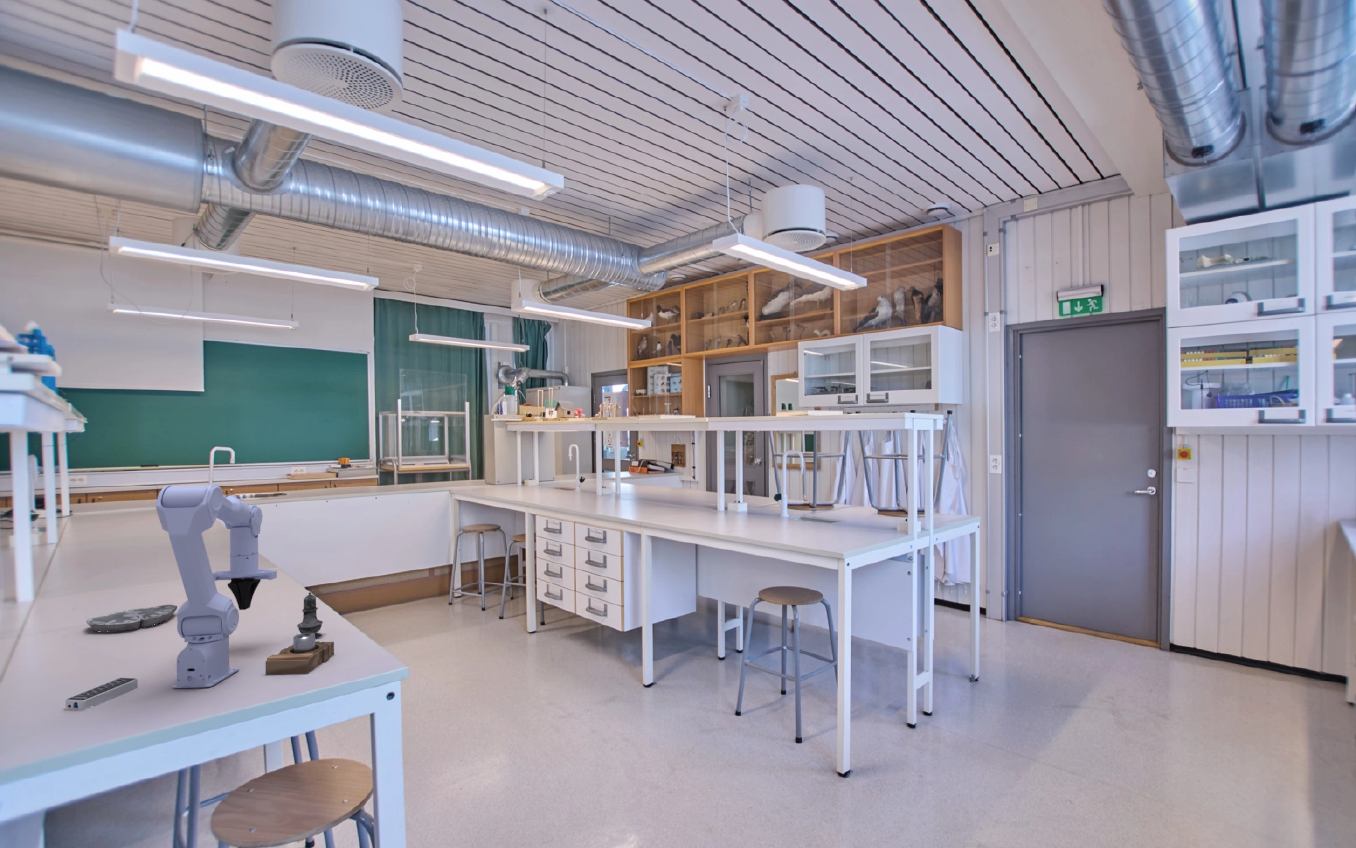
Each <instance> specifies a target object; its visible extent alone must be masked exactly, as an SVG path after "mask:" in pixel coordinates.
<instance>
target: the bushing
mask: <svg viewBox="0 0 1356 848" xmlns="http://www.w3.org/2000/svg"><path fill="white" fill-rule="evenodd" d="M315 642H316V639H315V633H312V632H309V633H302V634H301V633H299V634H296V635H294V636H293V642H292V643H293V644H294V654H300V653H307V652H311V651H314V650H316V648H315ZM293 644H292V645H293Z"/></svg>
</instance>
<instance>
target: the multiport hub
mask: <svg viewBox="0 0 1356 848" xmlns="http://www.w3.org/2000/svg"><path fill="white" fill-rule="evenodd" d="M136 689H138V678H133V677H131V678H130V677H119V678H116V679H114V680H112V681H109V682H106V683H104V684H101V685H99V686H96V687H94V688H91V689H89V690H85V691H84V692H81V693H78V694H76V695H73V696H72V697H69V698H66V699H65V710H66V709H72V710H71V711H79V710H84V711H86V710H85V709H87V708H89V709H91V708H90V707H91V706H94V707H96V706H99V705H100V703H101V704H102V703H105V701H106V702H108V701H110V700H113V699H115V698H117V697H119V696H122V695H124V694H126V693H129V692H131V691H133V690H136ZM109 699H110V700H109ZM107 700H108V701H107ZM98 704H99V705H98ZM87 710H88V709H87Z"/></svg>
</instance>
